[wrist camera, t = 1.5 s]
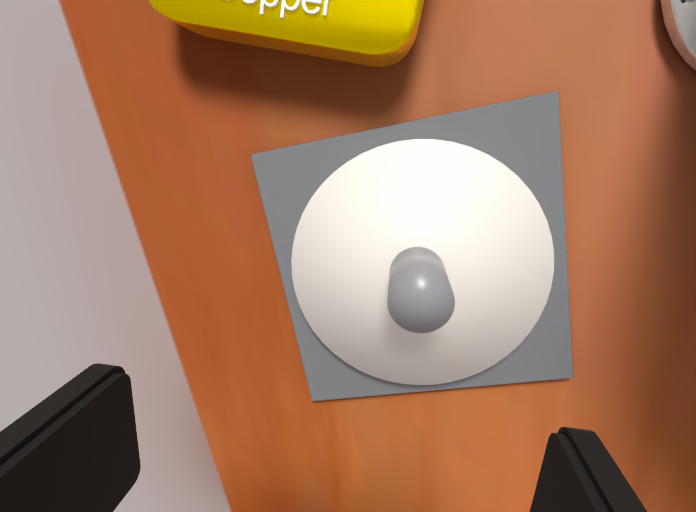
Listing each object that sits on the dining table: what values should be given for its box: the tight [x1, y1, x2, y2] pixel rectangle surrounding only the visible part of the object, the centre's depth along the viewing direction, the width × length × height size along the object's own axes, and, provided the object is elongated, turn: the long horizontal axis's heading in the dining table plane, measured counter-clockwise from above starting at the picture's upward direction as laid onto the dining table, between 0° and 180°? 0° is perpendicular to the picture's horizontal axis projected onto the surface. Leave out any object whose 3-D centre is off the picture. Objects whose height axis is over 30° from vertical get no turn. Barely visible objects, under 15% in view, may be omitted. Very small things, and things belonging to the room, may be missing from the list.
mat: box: [251, 91, 573, 401], centre depth 27 cm, size 19×19×1 cm
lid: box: [291, 139, 554, 385], centre depth 24 cm, size 17×17×6 cm
